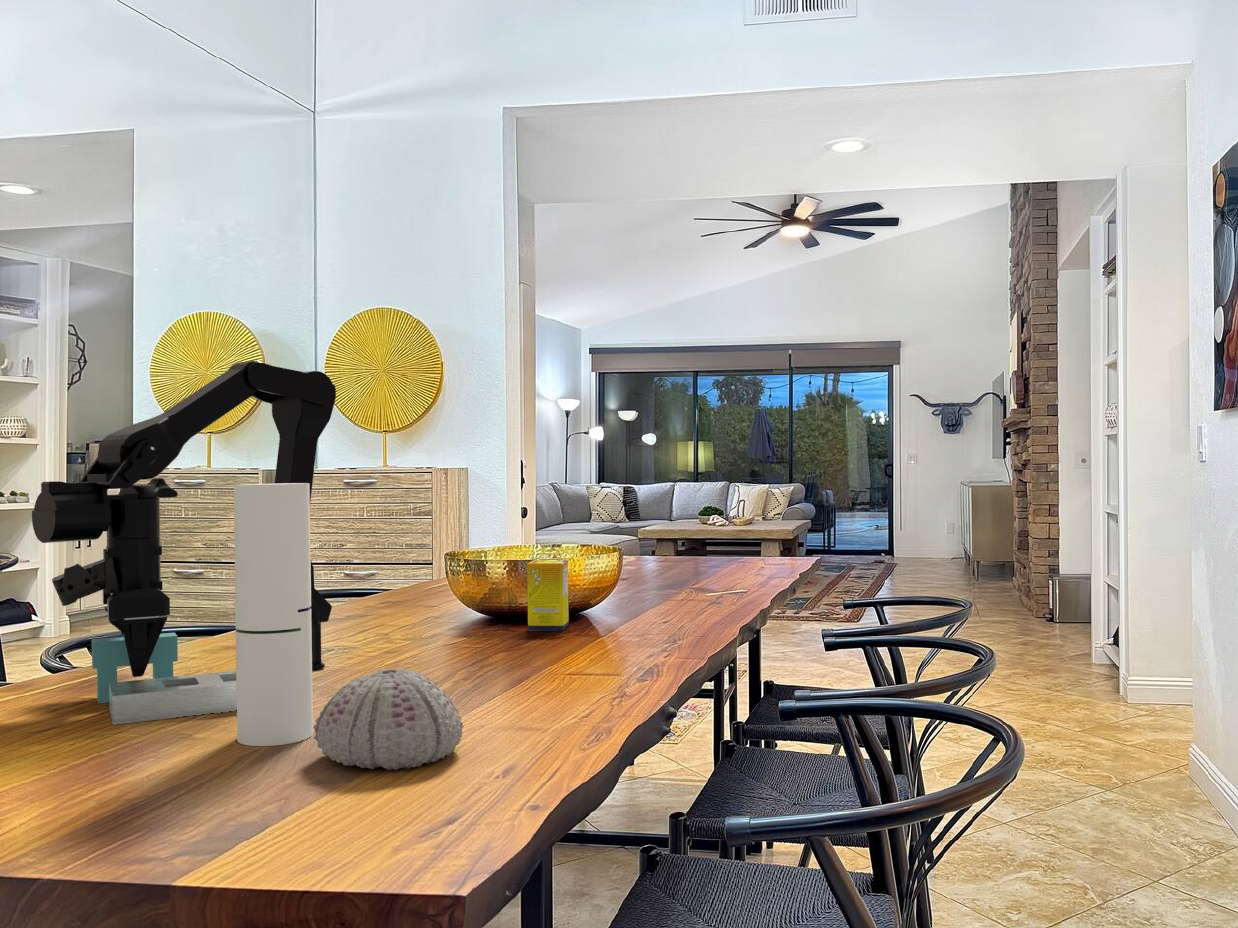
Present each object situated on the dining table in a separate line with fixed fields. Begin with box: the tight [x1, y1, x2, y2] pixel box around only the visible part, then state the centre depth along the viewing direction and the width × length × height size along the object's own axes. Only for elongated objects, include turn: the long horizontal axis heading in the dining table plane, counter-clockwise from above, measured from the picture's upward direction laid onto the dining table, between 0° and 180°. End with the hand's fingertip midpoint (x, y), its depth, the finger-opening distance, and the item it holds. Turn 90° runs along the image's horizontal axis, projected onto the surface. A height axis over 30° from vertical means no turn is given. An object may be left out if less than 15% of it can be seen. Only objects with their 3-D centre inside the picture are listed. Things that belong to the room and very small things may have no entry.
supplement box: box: [526, 559, 570, 632], centre depth 176 cm, size 6×6×11 cm
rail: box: [108, 670, 237, 726], centre depth 120 cm, size 20×8×3 cm, turn 118°
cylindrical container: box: [233, 483, 314, 747], centre depth 106 cm, size 7×7×25 cm
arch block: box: [91, 632, 179, 704], centre depth 126 cm, size 9×3×7 cm, turn 118°
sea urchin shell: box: [313, 668, 465, 771], centre depth 98 cm, size 13×14×8 cm
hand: (135, 670), depth 126 cm, fingers open, 8 cm apart
